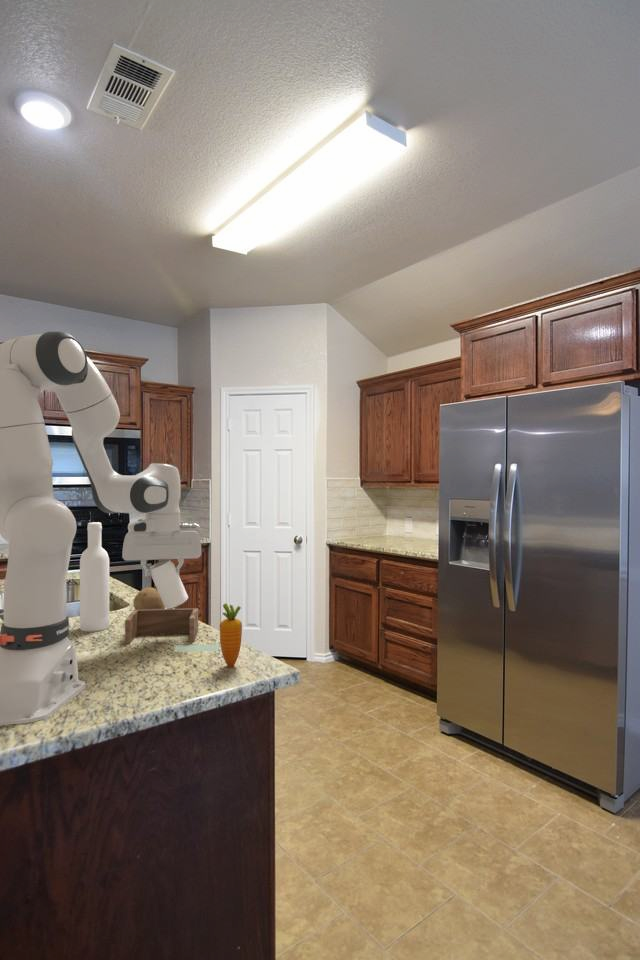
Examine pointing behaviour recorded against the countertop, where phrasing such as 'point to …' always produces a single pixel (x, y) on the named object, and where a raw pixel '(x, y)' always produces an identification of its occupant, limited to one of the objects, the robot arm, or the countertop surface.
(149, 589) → the natural sponge
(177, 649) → the mat
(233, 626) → the carrot
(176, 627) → the brown wooden u-shaped frame
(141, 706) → the countertop surface
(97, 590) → the bottle
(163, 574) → the can
